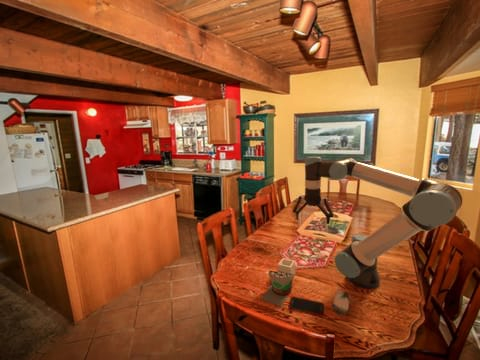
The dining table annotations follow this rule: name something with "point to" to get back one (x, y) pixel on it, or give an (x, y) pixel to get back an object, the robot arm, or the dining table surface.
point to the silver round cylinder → (341, 302)
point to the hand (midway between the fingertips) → (312, 227)
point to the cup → (286, 266)
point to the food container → (281, 282)
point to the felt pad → (274, 297)
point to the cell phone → (307, 306)
